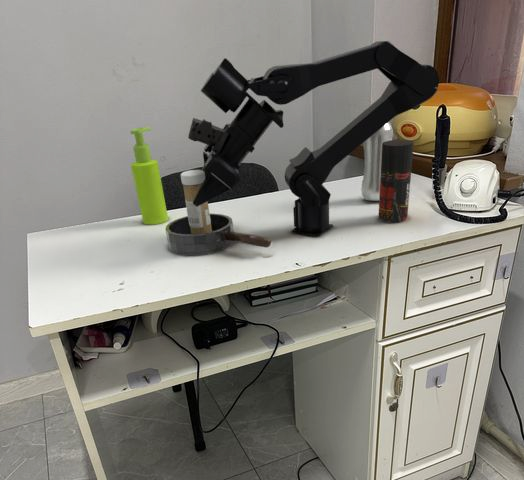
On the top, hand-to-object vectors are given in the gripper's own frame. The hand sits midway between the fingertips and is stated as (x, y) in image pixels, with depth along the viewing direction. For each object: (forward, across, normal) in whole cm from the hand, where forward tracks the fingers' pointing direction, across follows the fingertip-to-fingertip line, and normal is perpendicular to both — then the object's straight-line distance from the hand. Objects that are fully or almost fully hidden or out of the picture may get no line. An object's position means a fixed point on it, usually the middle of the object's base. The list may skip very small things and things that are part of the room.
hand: (194, 198), depth 95 cm
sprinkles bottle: (+6, 0, +6) cm, 9 cm away
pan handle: (-1, +8, +11) cm, 14 cm away
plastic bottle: (-22, -16, +36) cm, 45 cm away
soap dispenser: (+14, -20, -1) cm, 24 cm away
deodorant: (-22, -2, +35) cm, 42 cm away
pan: (+6, 0, +6) cm, 9 cm away
